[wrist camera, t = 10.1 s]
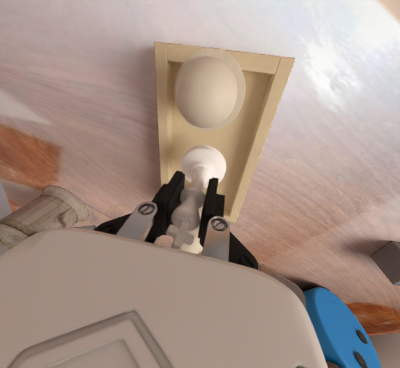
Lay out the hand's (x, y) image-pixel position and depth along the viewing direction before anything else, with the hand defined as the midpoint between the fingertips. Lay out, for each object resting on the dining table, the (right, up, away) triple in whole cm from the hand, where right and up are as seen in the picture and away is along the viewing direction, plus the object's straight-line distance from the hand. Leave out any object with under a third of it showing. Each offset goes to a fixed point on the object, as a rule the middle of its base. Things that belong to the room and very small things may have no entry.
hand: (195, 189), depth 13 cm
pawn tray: (+2, +5, +7) cm, 9 cm away
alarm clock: (+27, -24, +22) cm, 42 cm away
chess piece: (+1, +3, +4) cm, 5 cm away
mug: (-27, -4, +20) cm, 33 cm away
